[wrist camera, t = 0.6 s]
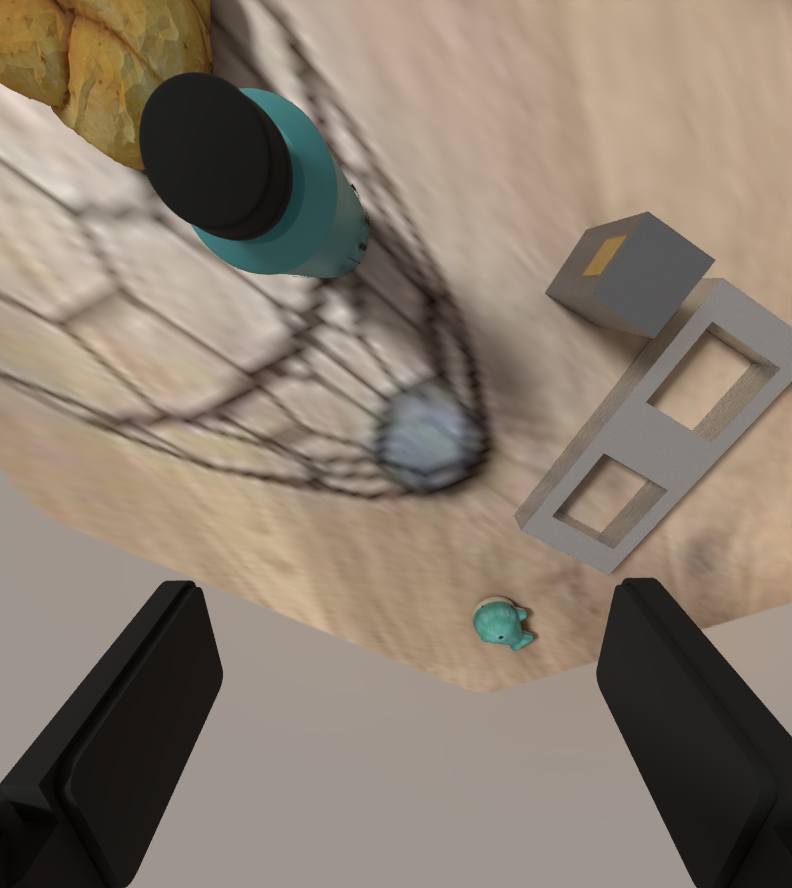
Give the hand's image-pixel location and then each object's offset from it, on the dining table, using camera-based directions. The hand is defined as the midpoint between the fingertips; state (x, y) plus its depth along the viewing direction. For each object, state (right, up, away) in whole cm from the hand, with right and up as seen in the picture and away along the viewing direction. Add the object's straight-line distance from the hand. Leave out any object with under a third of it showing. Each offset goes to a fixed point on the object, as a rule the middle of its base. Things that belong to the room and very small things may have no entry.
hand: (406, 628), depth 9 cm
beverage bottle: (-5, +20, +21) cm, 29 cm away
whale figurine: (+11, -14, +34) cm, 39 cm away
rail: (+21, +5, +26) cm, 34 cm away
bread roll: (-16, +29, +18) cm, 37 cm away
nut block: (+15, +17, +22) cm, 31 cm away
